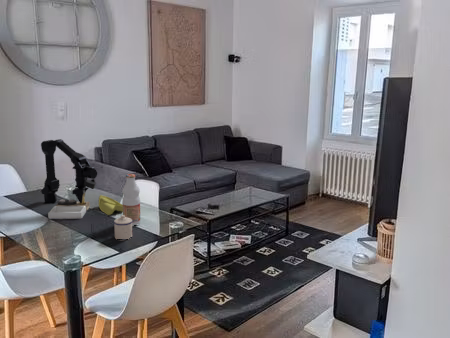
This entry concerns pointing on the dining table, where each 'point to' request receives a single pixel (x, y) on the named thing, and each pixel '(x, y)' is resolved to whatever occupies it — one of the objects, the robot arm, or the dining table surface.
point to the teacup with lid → (123, 227)
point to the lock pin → (83, 200)
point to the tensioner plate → (72, 203)
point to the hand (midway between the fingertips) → (82, 201)
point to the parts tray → (67, 212)
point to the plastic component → (109, 205)
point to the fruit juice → (131, 200)
